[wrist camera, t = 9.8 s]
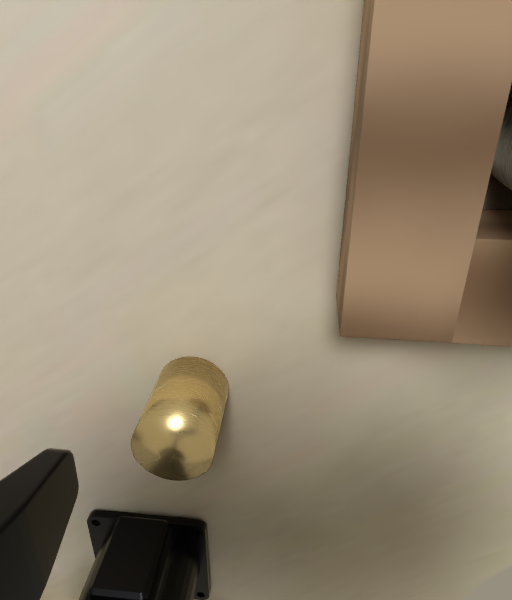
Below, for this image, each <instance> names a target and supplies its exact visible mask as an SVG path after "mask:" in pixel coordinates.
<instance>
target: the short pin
mask: <svg viewBox="0 0 512 600" xmlns="http://www.w3.org/2000/svg"><path fill="white" fill-rule="evenodd" d="M228 393H229V385H228V381H227V379H226V377H225V375H224V373H223V372H222V371H221V370H220V369H219V368H218V367H217V366H216V365H214V364H213V363H211V362H209V361H207V360H205V359H202V358H198V357H182V358H178V359H175V360H173V361H171V362H170V363H168V364H167V365H166V366H165V367H164V369H163V370H162V372H161V374H160V376H159V379H158V381H157V383H156V385H155V387H154V390H153V392H152V394H151V396H150V398H149V401H148V403H147V405H146V407H145V409H144V412H143V414H142V416H141V418H140V420H139V423H138V425H137V427H136V429H135V431H134V433H133V436H132V439H131V449H132V452H133V455H134V457H135V458H136V460H137V461H138V463H139V464H140V465H141V466H142V467H144V468H145V469H146V470H147V471H149V472H150V473H152V474H154V475H156V476H159V477H161V478H164V479H169V480H178V481H181V480H190V479H193V478H196V477H199V476H200V475H202V474H203V473H205V472H206V471H207V470H208V469H209V467H210V466H211V463H212V460H213V456H214V452H215V447H216V443H217V439H218V435H219V431H220V426H221V422H222V418H223V414H224V410H225V405H226V401H227V397H228Z"/></svg>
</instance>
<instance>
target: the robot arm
mask: <svg viewBox="0 0 512 600" xmlns="http://www.w3.org/2000/svg"><path fill="white" fill-rule="evenodd" d="M78 486H79V485H78V478H77V473H76V467H75V462H74V457H73V454H72V452H71V451H69V450H63V449H53V448H50V449H46V450H44V451H42V452H41V453H40V454H38V455H37V456H35V457H34V458H32V459H31V460H29V461H28V462H27V463H25V464H24V465H22V466H21V467H19V468H18V469H17V470H15V471H14V472H12V473H11V474H9V475H8V476H6V477H5V478H4V479H2V480H1V481H0V600H40V598H41V595H42V593H43V591H44V589H45V586H46V584H47V581H48V578H49V576H50V573H51V570H52V567H53V565H54V562H55V559H56V556H57V553H58V550H59V547H60V544H61V542H62V539H63V536H64V533H65V530H66V527H67V524H68V522H69V519H70V516H71V513H72V510H73V507H74V504H75V502H76V499H77V495H78ZM87 524H88V528H89V533H90V537H91V541H92V546H93V550H94V554H95V562H94V564H93V567H92V569H91V571H90V574H89V576H88V579H87V581H86V583H85V586H84V588H83V590H82V593H81V595H80V598H79V600H194V599H198V600H205V599H207V598H209V593H210V575H209V559H208V542H207V527H206V524H205V523H204V522H202V521H200V520H194V519H184V518H173V517H163V516H152V515H141V514H131V513H120V512H110V511H99V510H94V511H92V512H91V513H90V515H89V517H88V519H87Z"/></svg>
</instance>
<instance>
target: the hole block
mask: <svg viewBox="0 0 512 600" xmlns="http://www.w3.org/2000/svg"><path fill="white" fill-rule="evenodd" d="M511 83H512V0H364V10H363V20H362V31H361V41H360V52H359V62H358V73H357V84H356V94H355V105H354V115H353V126H352V136H351V147H350V158H349V168H348V179H347V189H346V200H345V210H344V221H343V232H342V242H341V253H340V263H339V274H338V284H337V295H336V297H337V308H338V318H339V329H340V336H347V337H364V338H381V339H397V340H414V341H431V342H448V343H464V344H481V345H498V346H512V211H504V210H482V209H483V205H484V200H485V196H486V192H487V187H488V183H489V179H490V174H491V170H492V166H493V161H494V157H495V153H496V148H497V144H498V140H499V135H500V131H501V127H502V122H503V118H504V114H505V109H506V105H507V101H508V96H509V92H510V88H511Z"/></svg>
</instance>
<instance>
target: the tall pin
mask: <svg viewBox="0 0 512 600" xmlns="http://www.w3.org/2000/svg"><path fill="white" fill-rule="evenodd" d="M491 173H492V175H493V176H494V177H495V178H496V179H497V180H498V181H500V182H501V183H502V184H503V185H505V186H506V187H507V188H509V189H510V190H511V191H512V102H511V103H509V104H508V105H507V106H506V109H505V114H504V118H503V122H502V127H501V131H500V135H499V140H498V144H497V148H496V153H495V157H494V161H493V166H492V170H491Z"/></svg>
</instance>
